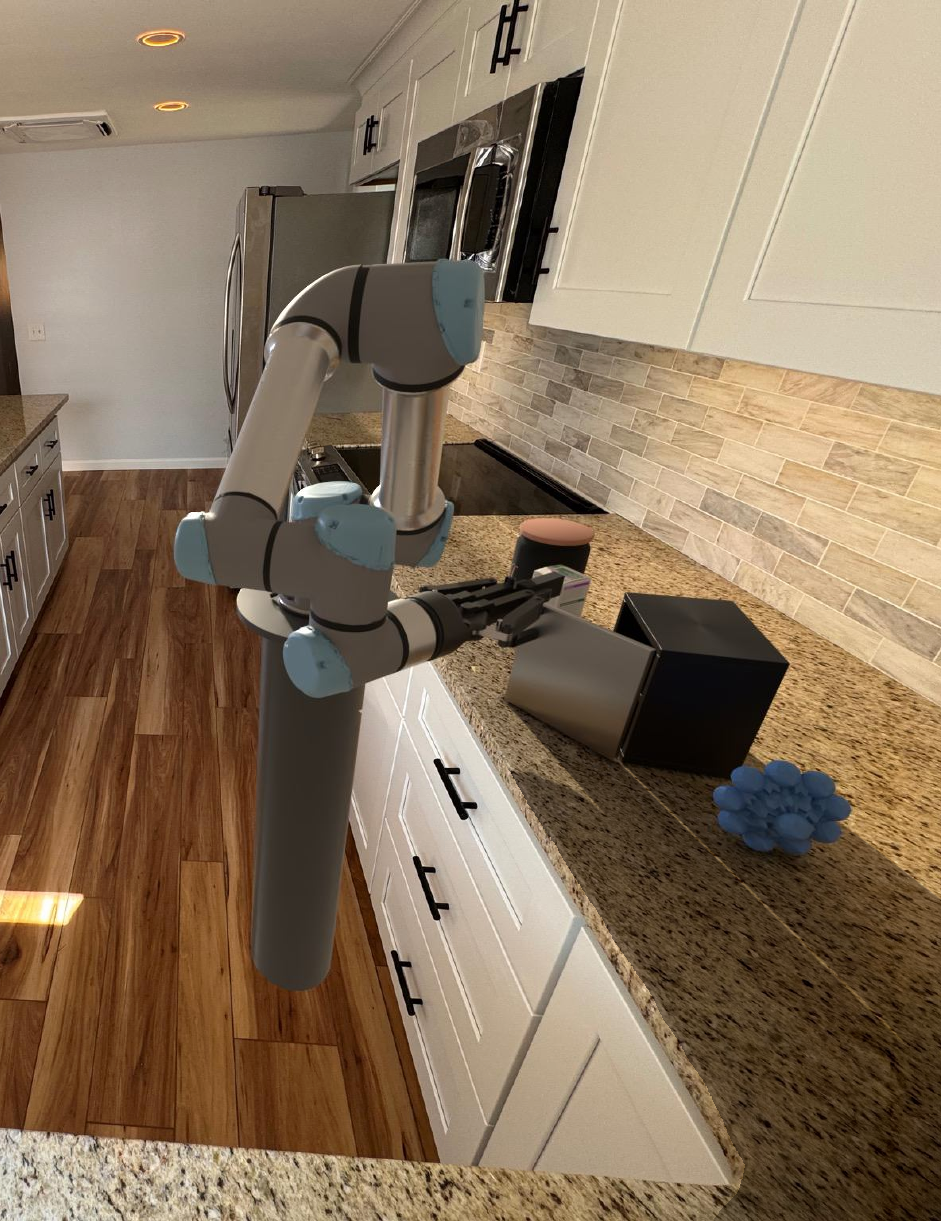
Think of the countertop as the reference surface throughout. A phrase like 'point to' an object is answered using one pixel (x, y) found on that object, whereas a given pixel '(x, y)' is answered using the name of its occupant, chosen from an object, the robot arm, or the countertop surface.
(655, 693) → the black box
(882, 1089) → the countertop surface
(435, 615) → the robot arm
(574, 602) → the syrup box
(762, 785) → the blue flower
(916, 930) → the countertop surface
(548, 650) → the door
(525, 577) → the coffee jar
